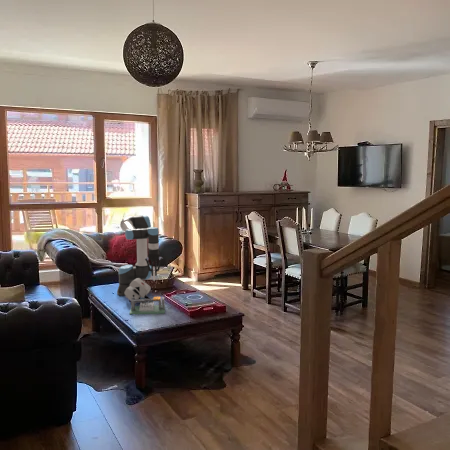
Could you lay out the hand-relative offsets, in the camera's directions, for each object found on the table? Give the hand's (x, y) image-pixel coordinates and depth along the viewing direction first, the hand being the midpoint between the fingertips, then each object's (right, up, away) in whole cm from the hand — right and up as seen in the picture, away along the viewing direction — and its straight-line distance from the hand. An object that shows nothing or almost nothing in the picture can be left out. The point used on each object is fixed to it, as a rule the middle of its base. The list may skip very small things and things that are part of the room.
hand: (154, 280), depth 340 cm
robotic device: (-15, -20, +19) cm, 32 cm away
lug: (+5, -21, +3) cm, 22 cm away
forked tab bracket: (-16, -22, 0) cm, 27 cm away
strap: (-6, -16, +1) cm, 17 cm away
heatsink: (-6, -21, +2) cm, 22 cm away
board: (-5, -23, +2) cm, 23 cm away
